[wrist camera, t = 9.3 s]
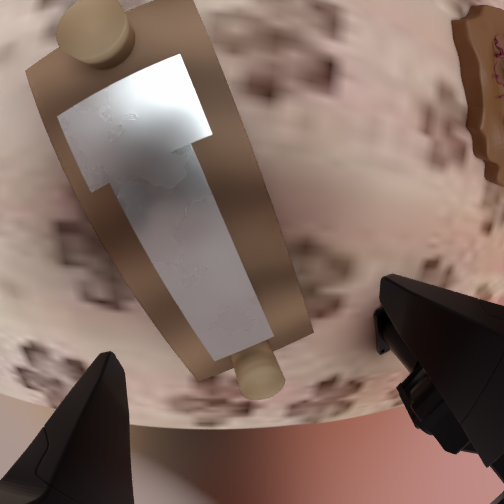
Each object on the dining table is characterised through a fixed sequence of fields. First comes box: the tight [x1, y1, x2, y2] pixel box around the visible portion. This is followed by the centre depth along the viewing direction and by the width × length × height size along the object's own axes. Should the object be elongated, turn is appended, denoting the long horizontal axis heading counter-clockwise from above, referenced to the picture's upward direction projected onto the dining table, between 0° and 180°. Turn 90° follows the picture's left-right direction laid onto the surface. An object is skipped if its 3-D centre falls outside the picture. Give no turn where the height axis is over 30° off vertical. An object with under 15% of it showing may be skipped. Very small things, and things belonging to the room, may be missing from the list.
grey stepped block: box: [57, 54, 274, 361], centre depth 15 cm, size 16×6×3 cm, turn 20°
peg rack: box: [25, 0, 314, 400], centre depth 15 cm, size 25×10×6 cm, turn 20°
